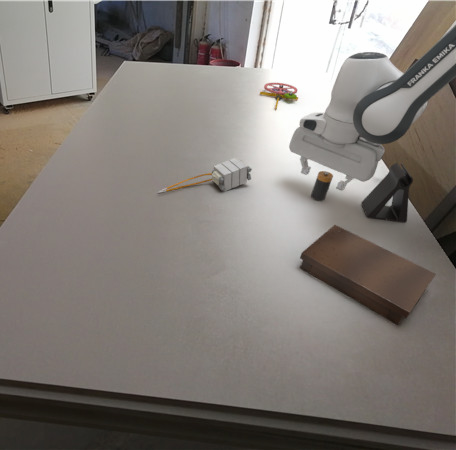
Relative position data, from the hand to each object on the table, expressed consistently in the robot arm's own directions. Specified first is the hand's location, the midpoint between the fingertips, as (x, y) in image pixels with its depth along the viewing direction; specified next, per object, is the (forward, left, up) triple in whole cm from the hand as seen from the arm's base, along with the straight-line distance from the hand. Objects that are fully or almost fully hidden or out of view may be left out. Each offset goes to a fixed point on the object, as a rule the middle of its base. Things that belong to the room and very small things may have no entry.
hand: (321, 181), depth 99 cm
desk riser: (-20, +21, -5) cm, 29 cm away
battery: (0, 0, -5) cm, 5 cm away
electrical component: (+21, +20, -5) cm, 29 cm away
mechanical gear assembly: (+47, -57, -5) cm, 74 cm away
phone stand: (-14, -6, -5) cm, 16 cm away
